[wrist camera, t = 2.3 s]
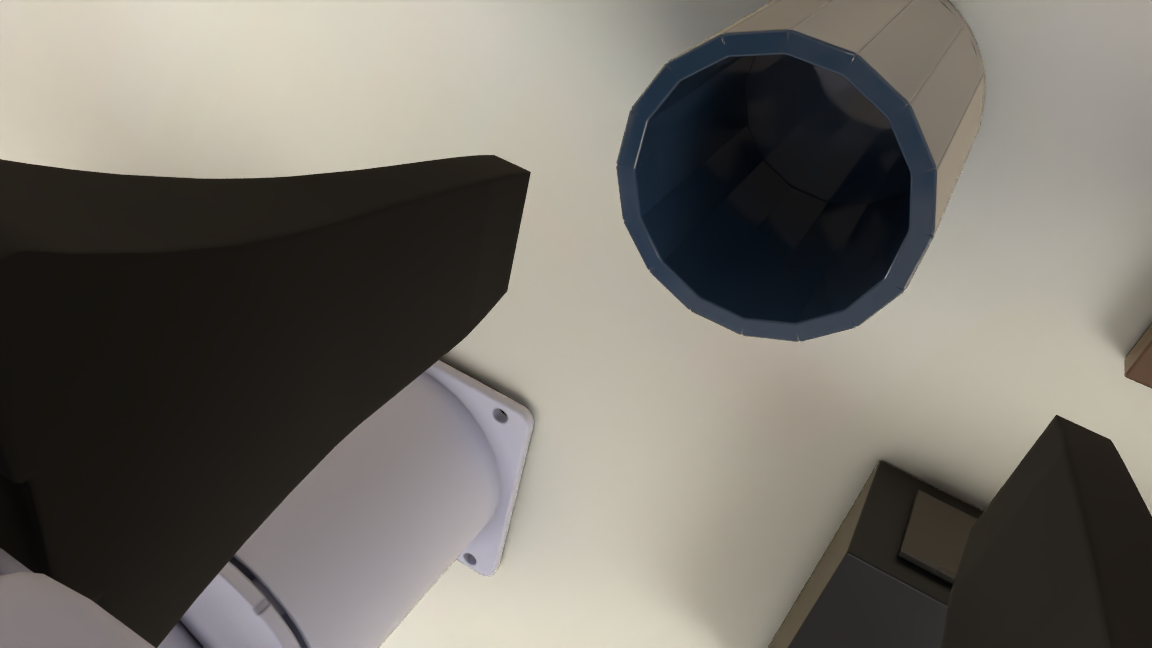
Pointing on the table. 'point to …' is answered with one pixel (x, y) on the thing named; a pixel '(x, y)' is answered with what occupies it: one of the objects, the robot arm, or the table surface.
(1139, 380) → the control pad
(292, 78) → the table surface
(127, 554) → the robot arm
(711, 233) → the cup
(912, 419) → the table surface
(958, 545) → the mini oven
